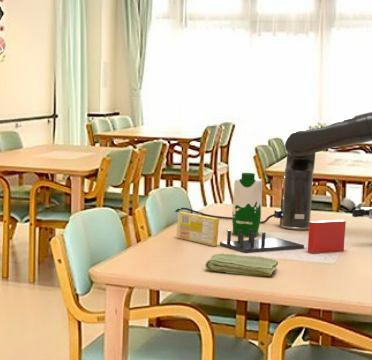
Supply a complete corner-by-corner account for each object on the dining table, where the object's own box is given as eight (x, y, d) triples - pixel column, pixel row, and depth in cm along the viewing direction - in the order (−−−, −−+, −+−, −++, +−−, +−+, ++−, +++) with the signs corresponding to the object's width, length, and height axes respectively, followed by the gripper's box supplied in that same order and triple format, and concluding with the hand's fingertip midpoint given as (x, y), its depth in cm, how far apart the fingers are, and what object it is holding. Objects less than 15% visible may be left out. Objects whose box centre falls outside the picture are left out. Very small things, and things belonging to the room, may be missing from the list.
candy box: (218, 245, 277) (219, 218, 276) (213, 246, 276) (214, 219, 275) (180, 237, 290) (182, 211, 289) (175, 237, 289) (177, 211, 288)
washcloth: (273, 278, 235) (274, 265, 234) (204, 271, 240) (204, 259, 240) (278, 268, 247) (279, 256, 246) (211, 262, 253) (212, 250, 252)
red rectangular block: (307, 252, 271) (309, 221, 270) (338, 249, 277) (340, 219, 276) (312, 253, 269) (314, 222, 268) (343, 250, 275) (345, 221, 274)
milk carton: (230, 235, 296) (233, 173, 293) (233, 231, 304) (237, 170, 302) (258, 237, 293) (261, 175, 291) (261, 233, 301) (264, 172, 299)
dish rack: (219, 245, 278) (220, 228, 278) (277, 241, 288) (278, 225, 287) (244, 252, 267) (245, 235, 267) (303, 248, 277) (304, 231, 277)
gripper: (386, 197, 291) (347, 199, 284) (422, 204, 278) (382, 206, 271) (384, 221, 292) (345, 224, 285) (420, 228, 279) (381, 231, 272)
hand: (363, 215), depth 278 cm, fingers open, 8 cm apart
